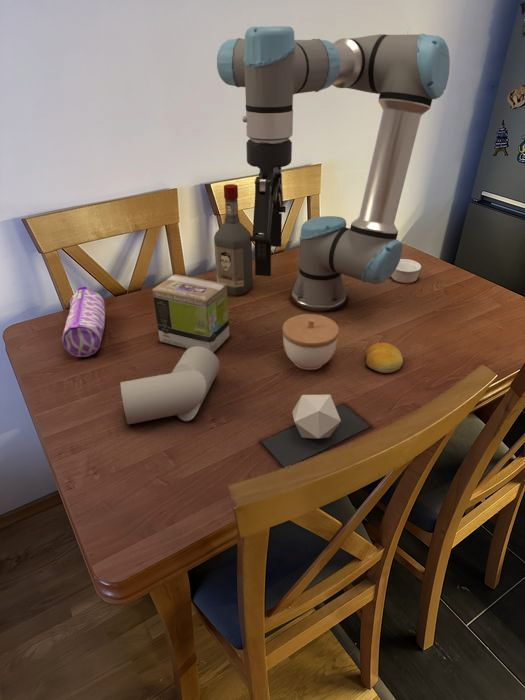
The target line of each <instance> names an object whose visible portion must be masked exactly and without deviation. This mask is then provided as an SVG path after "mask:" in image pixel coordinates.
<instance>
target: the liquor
mask: <svg viewBox="0 0 525 700" xmlns="http://www.w3.org/2000/svg"><path fill="white" fill-rule="evenodd" d="M238 187H239V186H238V185H237V184H235V183H229V184H228V183H227V184H224V185H223V197H224V209H225V210H224V211H225V217H224V222H223V223H222V225H221V226H220V227H219V229H218V230H217V231H216V232H215V234H214V236H213V243H214V245H213V247H214V256H215V257H214V258H215V259H214V260H215V275H216V282H219V283H224V284H226V285H227V295H230V296H234V297H238V296H243V295H245V294H246V293H247V292H248V291H249V290H251V288H252V287H253V285H254V279H253V278H254V275H253V241H250V236H252V233H251V232H250V231H249V230H248V228H247V227H246V226H245V224H243V223H242V222H241V221H240V219H241V218H240V217H239V202H238V201H239V200H238V199H239V188H238Z"/></svg>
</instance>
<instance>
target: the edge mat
mask: <svg viewBox="0 0 525 700" xmlns="http://www.w3.org/2000/svg"><path fill="white" fill-rule="evenodd" d="M335 408H336V410H337V413H338V415H339V418H340V420H341V422H340V423H339V424H338V426H337V427H336V429H335V430H334V432H333V433H332V434H331V436H330V437H327V438H302V437H301V435H300V433H299V431H298V429H297V426H296V425H294V426H292V427H290V428H287V429H286V430H283V431H281V432H278V433H277V434H275V435H272V436H270V437H268V438H265V439H263V440H262V441H260V442H261V444H262V445H263V447H265V448H266V449H267V451H269V453H270V454H271V455H272V456H273V457H274V459H275V460H276V461H277V462H278V463H279V464H280V465H281V467H282V468H284V467H286V466H289V465H292V464H295V463H297V464H299V463H300V461H301V462H303V461H305V460H308V459H309V458H311V457H313V456H315V455H317V454H319V453H321V452H323V451H326V450H328V449H329V448H331V447H333V446H335V445H337V444H339V443H341V442H343V441H345V440H347V439H349V438H351V437H354V436H356V435H357V434H360V433H361V432H363V431H365V430H367V429H370V428H371V427H370V425H369V424H367V422H365V421H364V420H363V419H361V418H360V417H359V416H358V415H357V414H356V413H355V412H353V411H352V410H351V409H350V408H348V407H347V406H346V405H345V404H340V405H338V406H335ZM298 462H299V463H298ZM295 465H296V464H295Z"/></svg>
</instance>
